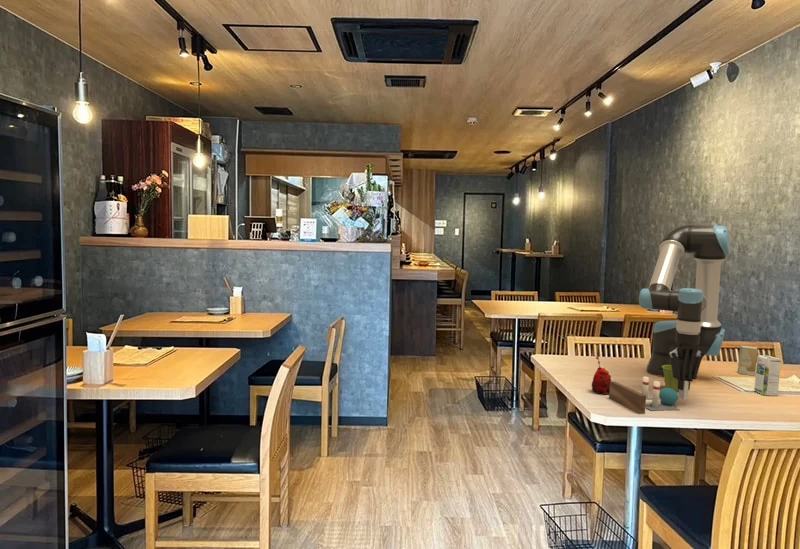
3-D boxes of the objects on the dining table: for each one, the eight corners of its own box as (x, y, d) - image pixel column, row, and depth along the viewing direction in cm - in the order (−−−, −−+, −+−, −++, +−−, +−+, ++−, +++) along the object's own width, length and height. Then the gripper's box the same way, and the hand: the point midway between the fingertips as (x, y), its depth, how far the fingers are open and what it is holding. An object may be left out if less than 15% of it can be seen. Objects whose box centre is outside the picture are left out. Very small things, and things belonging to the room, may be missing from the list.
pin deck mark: (655, 398, 202) (655, 398, 202) (679, 410, 190) (680, 409, 190) (628, 399, 200) (628, 398, 200) (650, 410, 187) (651, 410, 187)
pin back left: (655, 406, 193) (657, 380, 192) (659, 408, 191) (661, 382, 190) (650, 406, 192) (652, 380, 192) (654, 408, 190) (656, 382, 190)
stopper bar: (614, 397, 202) (615, 381, 201) (644, 413, 184) (646, 395, 184) (609, 397, 202) (610, 381, 201) (639, 413, 184) (640, 395, 183)
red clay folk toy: (611, 396, 204) (613, 355, 203) (591, 393, 206) (593, 353, 205) (611, 391, 211) (613, 351, 210) (591, 388, 213) (593, 349, 212)
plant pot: (676, 394, 210) (678, 371, 210) (655, 387, 219) (656, 365, 218) (692, 391, 215) (694, 369, 214) (670, 385, 223) (672, 364, 222)
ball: (656, 385, 197) (654, 402, 198) (668, 390, 192) (666, 407, 192) (671, 385, 199) (669, 402, 199) (683, 390, 193) (681, 407, 193)
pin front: (659, 398, 194) (636, 399, 192) (661, 404, 193) (638, 405, 191) (656, 400, 195) (633, 400, 194) (657, 406, 194) (634, 406, 193)
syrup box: (753, 391, 218) (756, 355, 217) (767, 391, 218) (770, 355, 217) (764, 395, 212) (767, 358, 211) (778, 396, 213) (781, 358, 212)
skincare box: (739, 374, 247) (741, 346, 246) (737, 372, 251) (739, 345, 251) (755, 375, 245) (758, 348, 244) (753, 373, 249) (756, 346, 248)
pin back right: (645, 401, 199) (646, 376, 198) (648, 403, 197) (650, 377, 196) (639, 401, 198) (641, 376, 198) (643, 403, 196) (645, 377, 196)
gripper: (696, 330, 200) (691, 395, 202) (664, 330, 198) (659, 396, 199) (712, 334, 193) (706, 401, 194) (678, 334, 190) (673, 402, 192)
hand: (682, 398), depth 197 cm, fingers closed
